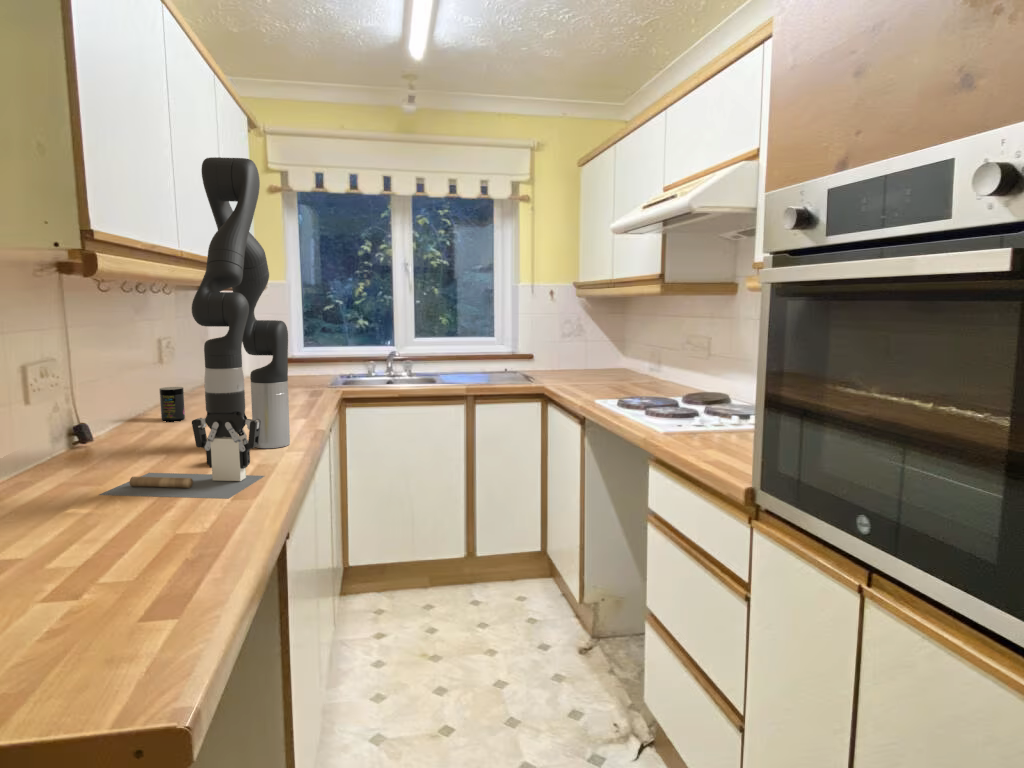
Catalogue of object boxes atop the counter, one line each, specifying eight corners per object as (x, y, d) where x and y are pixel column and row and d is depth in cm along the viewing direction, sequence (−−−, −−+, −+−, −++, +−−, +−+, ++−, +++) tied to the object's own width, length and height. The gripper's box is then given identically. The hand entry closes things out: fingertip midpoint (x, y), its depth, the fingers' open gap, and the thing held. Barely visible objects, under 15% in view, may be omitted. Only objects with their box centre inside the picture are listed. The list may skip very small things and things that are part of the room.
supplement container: (186, 421, 199) (184, 388, 197) (161, 423, 195) (159, 390, 194) (184, 418, 205) (182, 386, 203) (160, 419, 201) (159, 387, 200)
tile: (218, 476, 135) (216, 435, 133) (246, 477, 134) (244, 436, 133) (212, 480, 132) (210, 438, 131) (240, 481, 132) (238, 439, 131)
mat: (149, 475, 138) (149, 472, 138) (265, 478, 137) (265, 475, 137) (98, 497, 122) (98, 494, 122) (228, 501, 121) (228, 498, 121)
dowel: (136, 484, 129) (135, 475, 129) (193, 486, 128) (192, 476, 128) (129, 487, 127) (129, 478, 127) (187, 489, 127) (187, 479, 126)
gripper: (266, 387, 134) (269, 463, 136) (200, 385, 135) (204, 462, 137) (250, 392, 127) (253, 473, 129) (180, 390, 127) (185, 471, 130)
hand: (228, 467), depth 133 cm, fingers closed on tile, 6 cm apart
